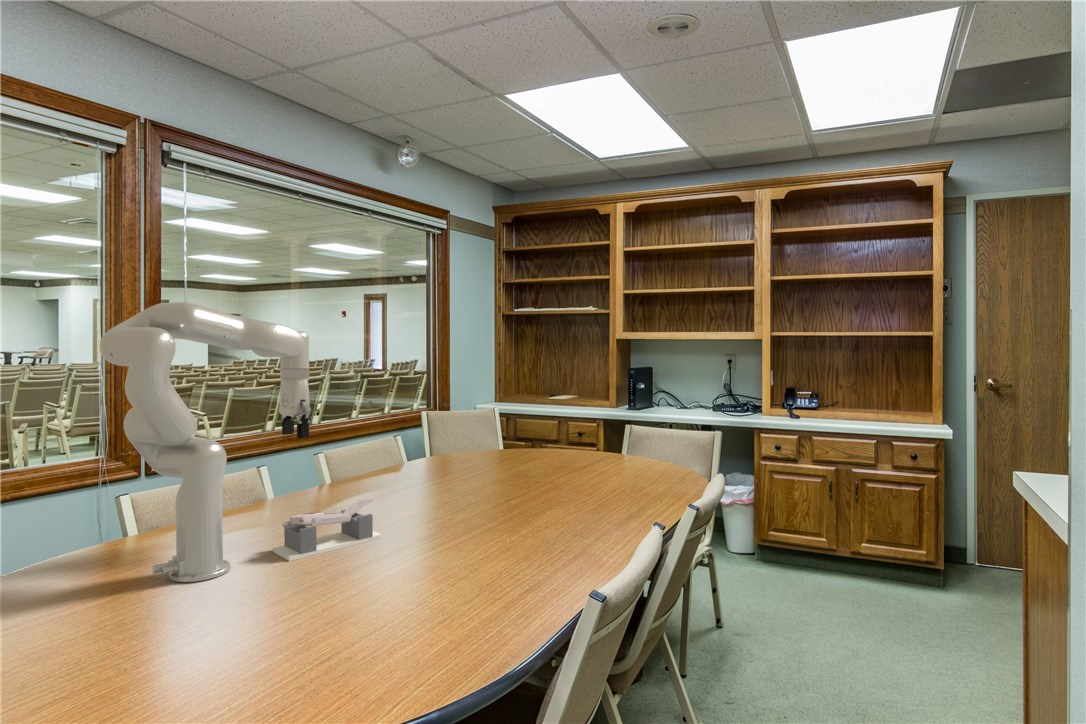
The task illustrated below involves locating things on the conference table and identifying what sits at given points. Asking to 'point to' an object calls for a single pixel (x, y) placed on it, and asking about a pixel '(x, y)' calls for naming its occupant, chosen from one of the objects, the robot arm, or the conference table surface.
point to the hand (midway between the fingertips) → (295, 435)
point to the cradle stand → (325, 538)
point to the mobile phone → (327, 516)
